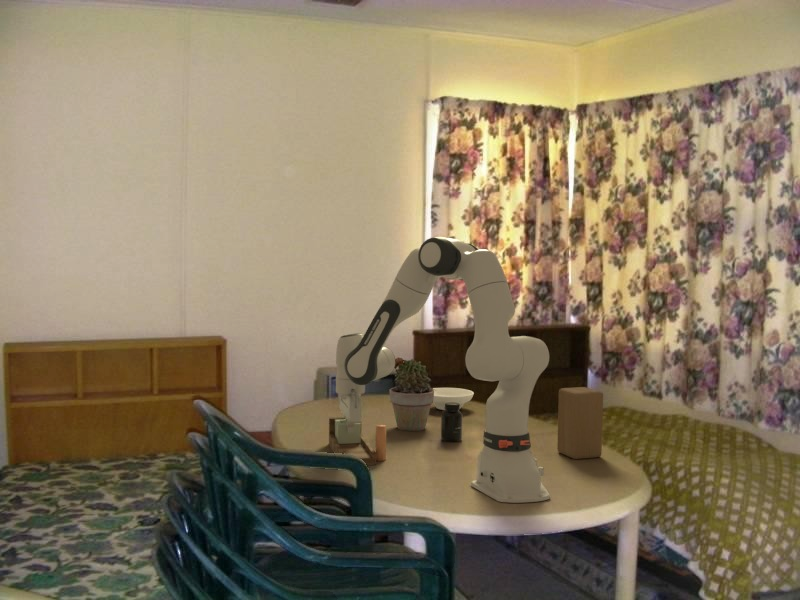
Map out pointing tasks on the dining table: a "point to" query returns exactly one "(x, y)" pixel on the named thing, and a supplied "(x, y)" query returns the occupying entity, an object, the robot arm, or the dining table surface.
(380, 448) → the dowel
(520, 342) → the robot arm
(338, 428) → the socket block
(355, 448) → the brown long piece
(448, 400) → the bowl
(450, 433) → the supplement bottle
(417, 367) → the potted plant
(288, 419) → the dining table surface
